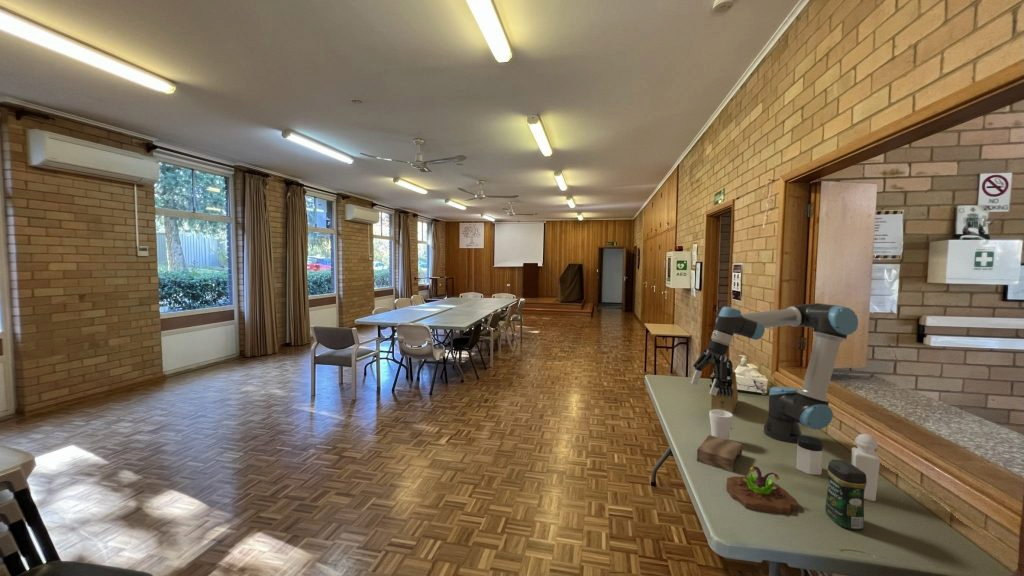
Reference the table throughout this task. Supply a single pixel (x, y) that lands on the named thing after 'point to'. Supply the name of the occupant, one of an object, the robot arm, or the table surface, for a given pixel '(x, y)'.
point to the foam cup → (720, 423)
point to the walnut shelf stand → (719, 452)
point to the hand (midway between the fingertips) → (702, 389)
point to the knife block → (725, 391)
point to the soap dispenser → (867, 463)
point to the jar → (809, 455)
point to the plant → (760, 493)
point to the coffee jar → (845, 494)
